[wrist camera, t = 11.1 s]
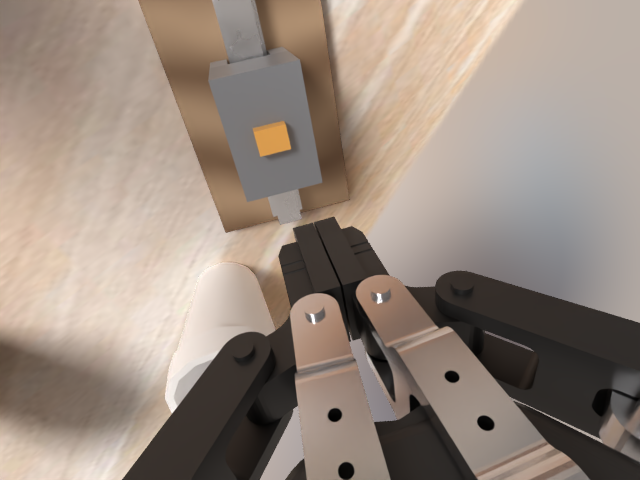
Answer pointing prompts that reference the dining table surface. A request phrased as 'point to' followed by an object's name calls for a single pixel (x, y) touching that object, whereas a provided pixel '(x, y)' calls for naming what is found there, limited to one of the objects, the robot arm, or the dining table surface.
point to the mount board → (201, 111)
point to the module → (267, 122)
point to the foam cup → (215, 323)
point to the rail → (243, 44)
